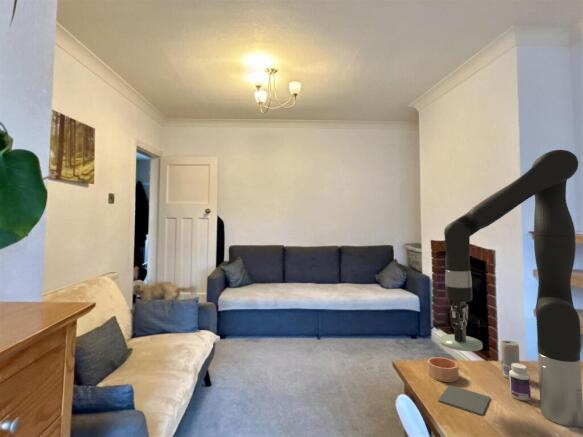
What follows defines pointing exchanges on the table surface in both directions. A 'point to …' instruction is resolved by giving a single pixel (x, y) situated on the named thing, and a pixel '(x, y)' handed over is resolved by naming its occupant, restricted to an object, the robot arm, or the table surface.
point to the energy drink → (509, 356)
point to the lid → (465, 345)
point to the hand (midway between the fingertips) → (460, 338)
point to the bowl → (443, 369)
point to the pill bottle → (519, 382)
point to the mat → (465, 399)
